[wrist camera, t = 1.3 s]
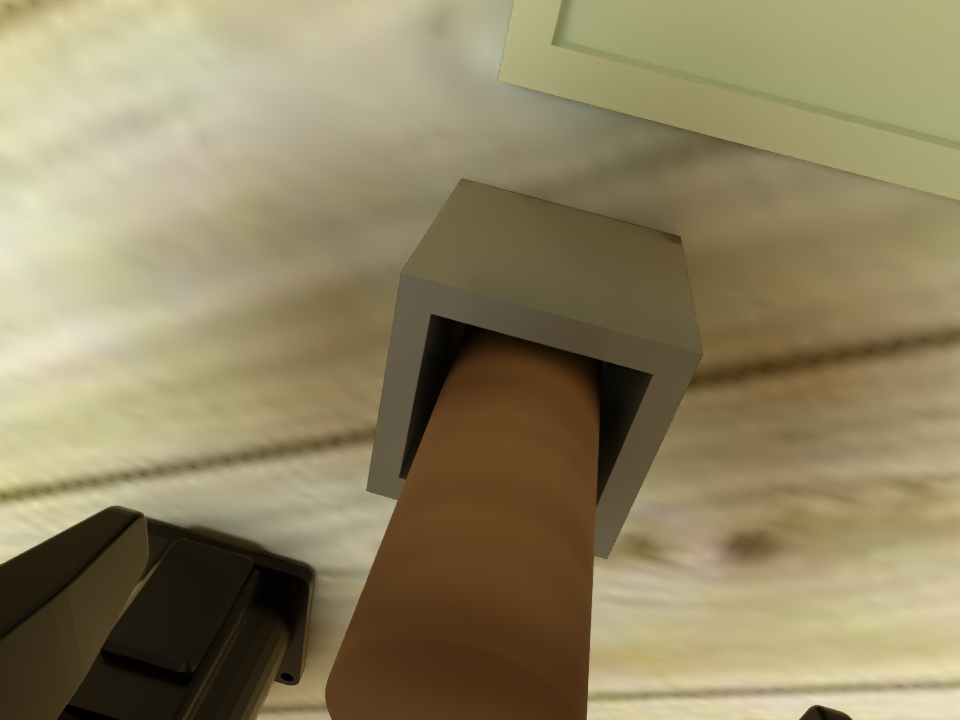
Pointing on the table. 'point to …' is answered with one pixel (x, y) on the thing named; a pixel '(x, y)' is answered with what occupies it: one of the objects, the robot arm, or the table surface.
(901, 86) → the tray
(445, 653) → the dowel
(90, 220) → the table surface
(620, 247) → the pen cup
